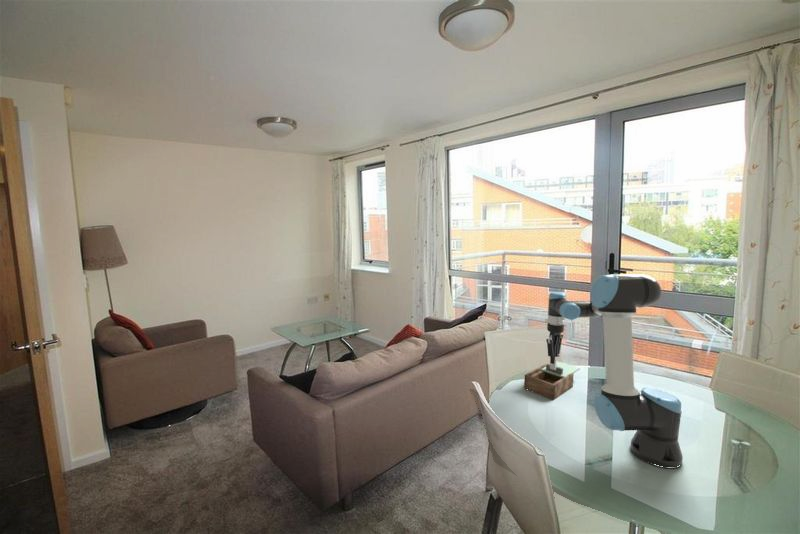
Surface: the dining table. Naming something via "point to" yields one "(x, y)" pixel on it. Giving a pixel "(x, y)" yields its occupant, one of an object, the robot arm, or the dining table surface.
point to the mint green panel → (561, 369)
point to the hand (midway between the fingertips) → (553, 368)
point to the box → (547, 383)
